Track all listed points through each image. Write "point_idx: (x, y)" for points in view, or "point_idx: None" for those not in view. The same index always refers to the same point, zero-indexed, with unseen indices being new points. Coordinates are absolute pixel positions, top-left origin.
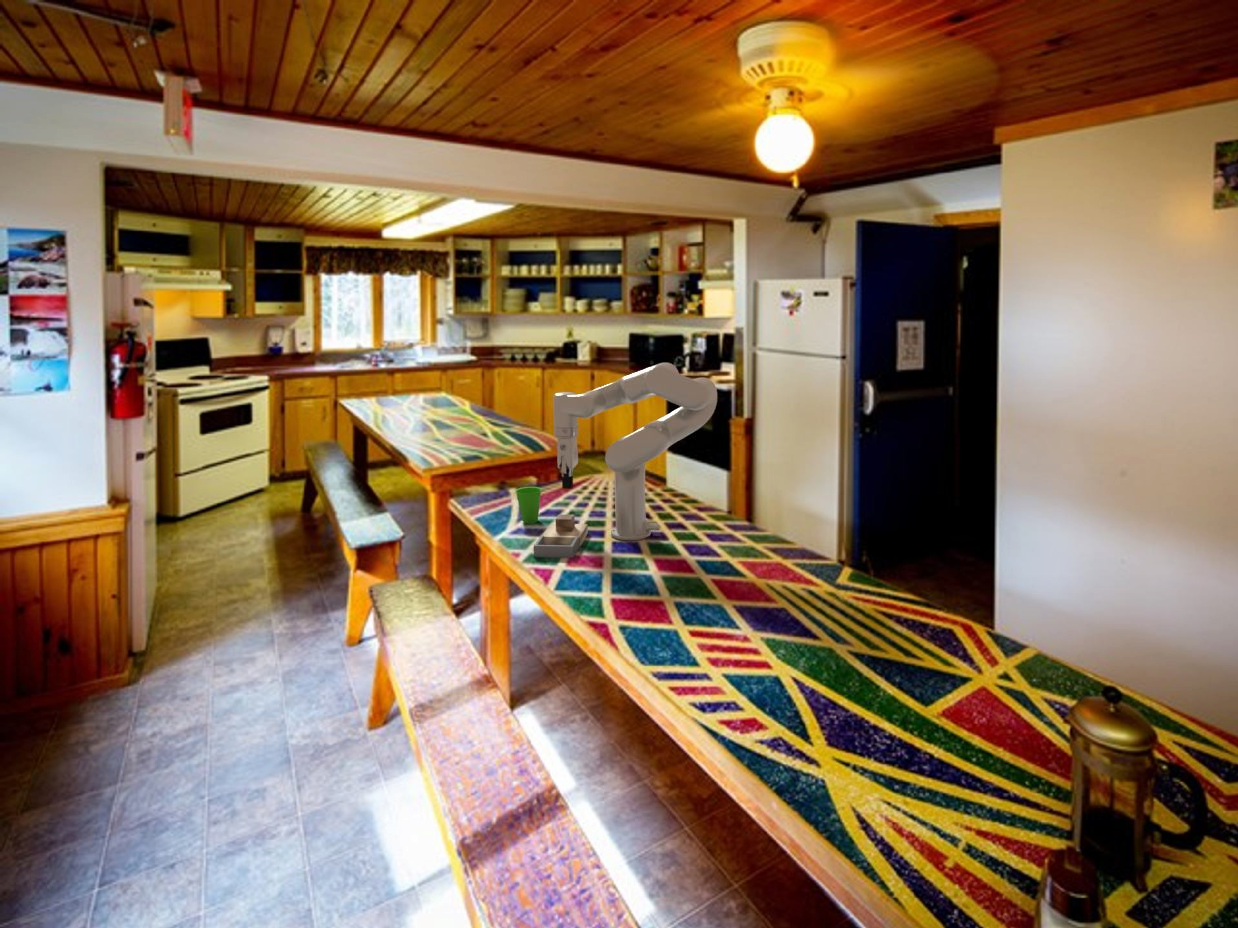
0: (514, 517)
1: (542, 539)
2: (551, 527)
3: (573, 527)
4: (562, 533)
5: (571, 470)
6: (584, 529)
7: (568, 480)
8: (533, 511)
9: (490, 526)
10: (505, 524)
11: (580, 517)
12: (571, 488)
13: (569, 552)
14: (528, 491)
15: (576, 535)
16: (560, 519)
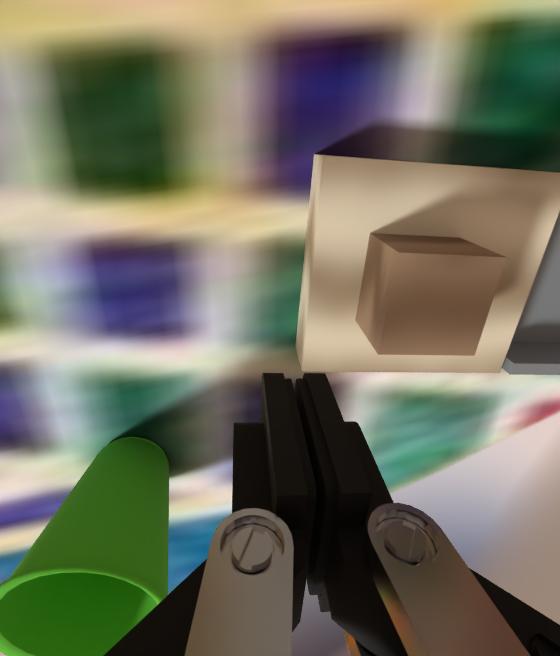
0: None
1: (532, 358)
2: (367, 355)
3: (413, 237)
4: None
5: (289, 628)
6: (427, 163)
7: (382, 483)
8: (154, 486)
9: None
10: (189, 526)
11: (8, 243)
12: (321, 377)
13: None
14: (22, 611)
15: (532, 198)
16: (483, 325)
